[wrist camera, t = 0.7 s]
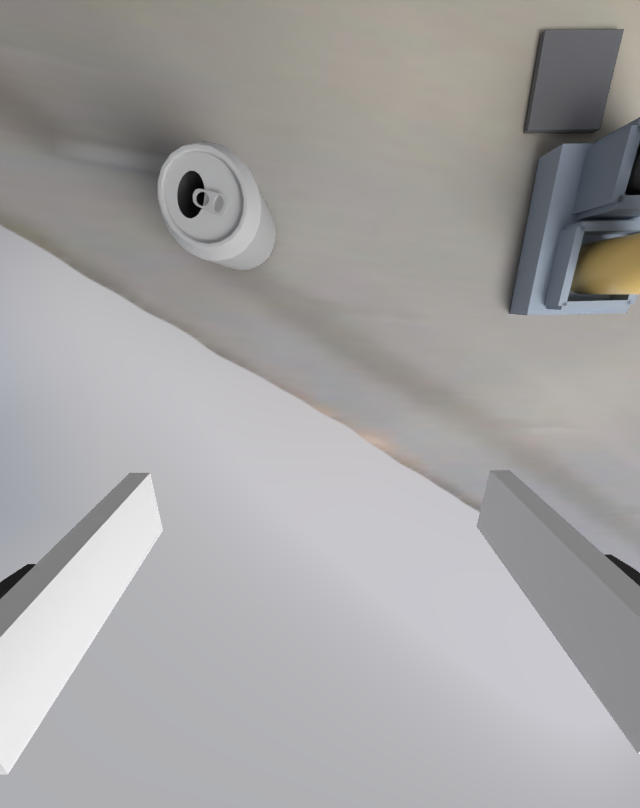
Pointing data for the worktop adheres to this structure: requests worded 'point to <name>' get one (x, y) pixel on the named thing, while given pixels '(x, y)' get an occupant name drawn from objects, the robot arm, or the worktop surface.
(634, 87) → the worktop surface
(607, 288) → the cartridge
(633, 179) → the plunger
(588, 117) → the mat
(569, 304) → the housing
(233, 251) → the can
